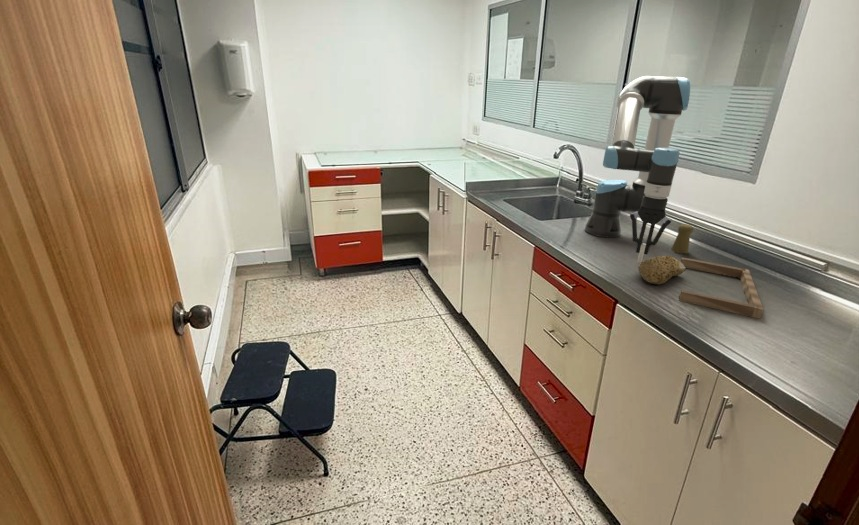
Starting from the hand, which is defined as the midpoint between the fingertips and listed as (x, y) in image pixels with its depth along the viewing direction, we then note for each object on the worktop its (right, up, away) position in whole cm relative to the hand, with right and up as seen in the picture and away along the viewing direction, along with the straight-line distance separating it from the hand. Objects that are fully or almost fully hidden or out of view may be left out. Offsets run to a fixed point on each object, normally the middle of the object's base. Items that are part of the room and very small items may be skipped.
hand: (639, 261), depth 154 cm
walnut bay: (+21, -9, -8) cm, 24 cm away
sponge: (+5, -6, -2) cm, 8 cm away
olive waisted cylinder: (+28, +4, +24) cm, 37 cm away
